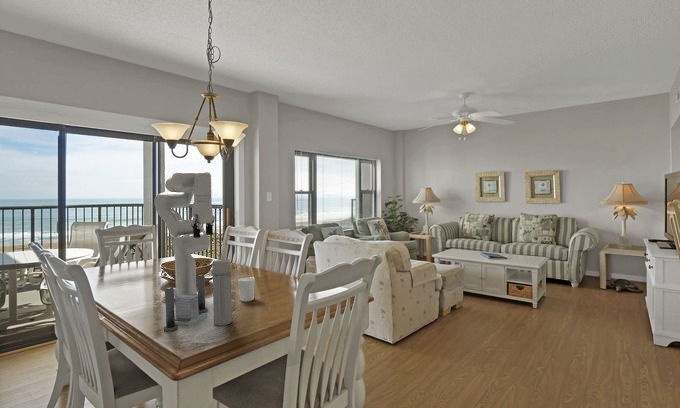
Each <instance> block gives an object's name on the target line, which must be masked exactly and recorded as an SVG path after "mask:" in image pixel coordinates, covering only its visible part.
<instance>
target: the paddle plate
mask: <svg viewBox="0 0 680 408" xmlns="http://www.w3.org/2000/svg"><path fill="white" fill-rule="evenodd" d="M198 314H199V316H197V317H196V318H194V319H182V318H176V316H175V324H176V325H178V326H179V325H182V326H192V325H194V324H196V323H197V322H200V321H201V320H203V319H204V318H206V317H208V313H207V312H205V313H198Z"/></svg>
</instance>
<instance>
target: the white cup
mask: <svg viewBox="0 0 680 408" xmlns="http://www.w3.org/2000/svg"><path fill="white" fill-rule="evenodd" d="M237 281H238V282H237V283H238V295H239V301H241V302H250V301H253V300H254V299H255V288H256V287H255V286H256V285H255V284H256V283H255V282H256V278H255V277H252V276H250V277H241V278H238V280H237Z"/></svg>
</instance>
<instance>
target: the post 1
mask: <svg viewBox="0 0 680 408" xmlns="http://www.w3.org/2000/svg"><path fill="white" fill-rule="evenodd" d="M174 288H175V287H173V286H170V287H165V288H164V300H165V325H164V326H163V330H164V331H163V332H165V331H166V332H165V333H167V332H168V331H171V332H175V331H177V330H178V329H179V325H178V324H175V317H176V312H175V299H174ZM174 330H175V331H174ZM168 333H169V332H168Z"/></svg>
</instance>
